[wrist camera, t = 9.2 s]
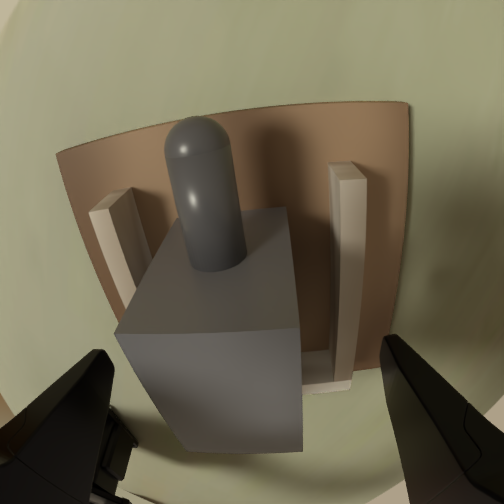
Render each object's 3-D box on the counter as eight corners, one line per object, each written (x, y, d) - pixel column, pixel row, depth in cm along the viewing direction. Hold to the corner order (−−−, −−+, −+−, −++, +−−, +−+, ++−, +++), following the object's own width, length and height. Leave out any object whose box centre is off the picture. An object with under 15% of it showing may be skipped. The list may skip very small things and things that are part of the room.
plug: (208, 335, 15) (186, 451, 9) (154, 116, 10) (48, 167, 5) (295, 330, 14) (302, 451, 9) (274, 98, 9) (284, 120, 4)
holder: (151, 371, 17) (139, 407, 15) (63, 150, 11) (25, 169, 9) (379, 358, 16) (389, 396, 14) (401, 101, 10) (435, 110, 7)
